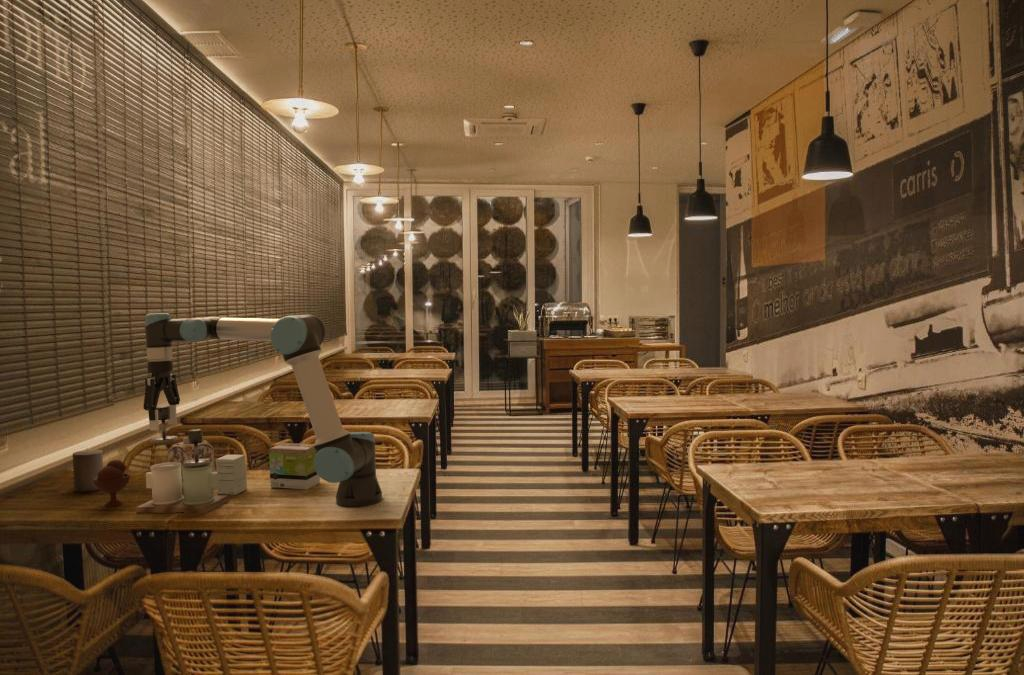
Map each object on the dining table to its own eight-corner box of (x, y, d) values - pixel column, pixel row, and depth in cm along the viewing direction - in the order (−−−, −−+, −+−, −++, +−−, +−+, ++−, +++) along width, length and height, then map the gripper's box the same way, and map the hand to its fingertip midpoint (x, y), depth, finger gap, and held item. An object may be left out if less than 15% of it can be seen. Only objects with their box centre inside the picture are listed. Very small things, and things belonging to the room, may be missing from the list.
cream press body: (189, 497, 247) (187, 462, 247) (173, 505, 238) (171, 468, 237) (157, 496, 249) (155, 462, 248) (139, 505, 239) (137, 468, 238)
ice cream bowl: (106, 500, 253) (104, 457, 252) (138, 499, 252) (135, 456, 252) (88, 509, 242) (85, 464, 241) (121, 508, 242) (118, 464, 241)
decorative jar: (194, 479, 279) (192, 433, 278) (216, 482, 274) (214, 435, 272) (167, 487, 268) (165, 439, 267) (190, 490, 263) (187, 441, 262)
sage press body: (177, 505, 238) (175, 468, 237) (193, 497, 247) (191, 462, 246) (210, 505, 236) (208, 468, 236) (225, 497, 246) (223, 462, 245)
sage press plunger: (178, 466, 238) (176, 432, 237) (192, 461, 246) (190, 428, 245) (201, 466, 237) (200, 432, 236) (214, 461, 245) (212, 427, 244)
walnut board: (228, 500, 248) (228, 495, 248) (206, 512, 234) (206, 507, 234) (162, 500, 251) (161, 495, 251) (136, 512, 237) (136, 507, 237)
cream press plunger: (182, 438, 246) (180, 405, 245) (168, 443, 238) (166, 409, 237) (160, 438, 246) (158, 405, 246) (145, 443, 238) (143, 409, 238)
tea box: (269, 488, 263) (267, 448, 262) (284, 481, 273) (282, 442, 272) (307, 490, 259) (305, 449, 258) (321, 482, 269) (319, 443, 268)
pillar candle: (72, 493, 263) (70, 452, 262) (76, 487, 272) (74, 447, 271) (103, 490, 267) (101, 449, 266) (105, 484, 276) (103, 444, 275)
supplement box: (229, 488, 264) (227, 454, 263) (247, 489, 263) (246, 454, 262) (217, 494, 257) (215, 458, 256) (235, 494, 255) (234, 459, 255)
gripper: (168, 357, 252) (172, 421, 253) (127, 363, 230) (132, 433, 231) (189, 356, 251) (192, 421, 252) (150, 363, 229) (154, 433, 230)
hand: (163, 427), depth 242 cm, fingers open, 10 cm apart
